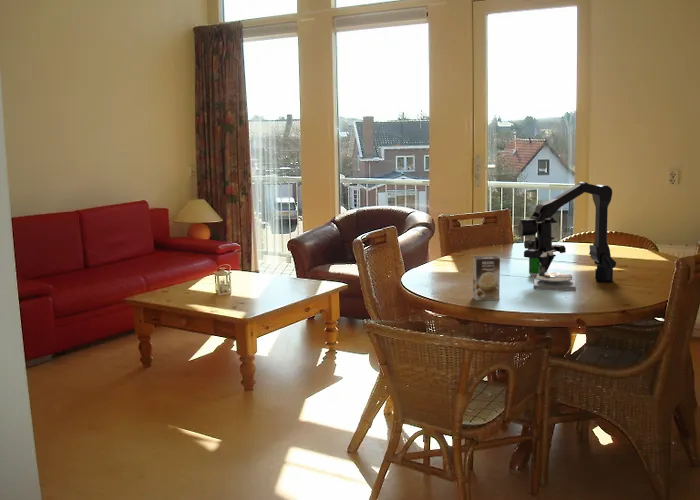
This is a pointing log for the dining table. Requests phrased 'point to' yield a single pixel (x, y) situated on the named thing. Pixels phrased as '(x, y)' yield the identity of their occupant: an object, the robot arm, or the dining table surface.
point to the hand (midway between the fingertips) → (545, 272)
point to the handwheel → (553, 276)
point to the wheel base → (554, 285)
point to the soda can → (534, 266)
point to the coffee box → (486, 277)
